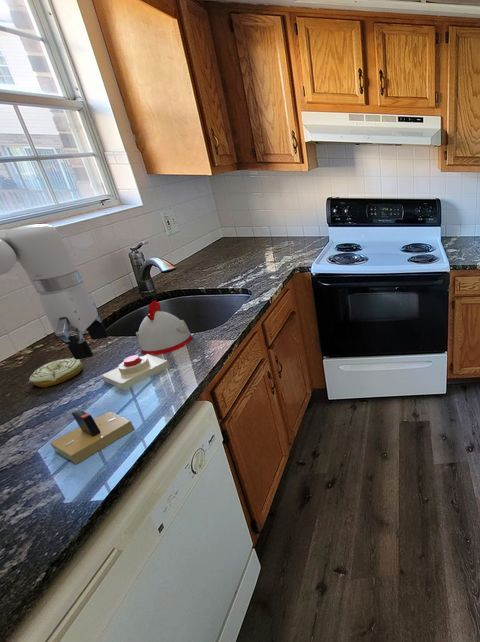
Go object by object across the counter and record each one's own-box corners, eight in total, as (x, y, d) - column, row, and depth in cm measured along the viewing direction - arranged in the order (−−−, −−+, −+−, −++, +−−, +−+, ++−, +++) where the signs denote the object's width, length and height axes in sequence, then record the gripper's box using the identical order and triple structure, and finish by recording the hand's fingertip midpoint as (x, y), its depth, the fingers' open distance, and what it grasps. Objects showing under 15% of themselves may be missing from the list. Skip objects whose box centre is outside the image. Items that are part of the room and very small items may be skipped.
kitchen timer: (197, 331, 129) (183, 292, 123) (184, 350, 117) (168, 308, 111) (151, 337, 125) (134, 298, 119) (133, 358, 114) (113, 316, 107)
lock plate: (76, 464, 77) (70, 455, 75) (54, 451, 80) (48, 442, 79) (135, 429, 86) (130, 420, 84) (113, 418, 89) (108, 410, 88)
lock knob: (81, 430, 82) (70, 412, 80) (89, 426, 83) (78, 408, 81) (93, 436, 80) (82, 418, 78) (101, 432, 81) (90, 414, 79)
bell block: (124, 390, 99) (118, 378, 98) (104, 381, 103) (98, 370, 101) (170, 366, 109) (165, 355, 107) (150, 359, 113) (145, 348, 111)
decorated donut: (22, 389, 101) (15, 378, 99) (59, 367, 110) (53, 356, 109) (60, 388, 101) (53, 377, 99) (93, 366, 110) (88, 355, 109)
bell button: (129, 368, 102) (127, 363, 102) (122, 365, 104) (120, 360, 103) (143, 361, 105) (141, 356, 105) (136, 359, 107) (134, 354, 106)
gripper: (54, 272, 86) (88, 335, 94) (12, 299, 72) (55, 370, 79) (94, 267, 89) (124, 328, 96) (61, 292, 75) (99, 361, 82)
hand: (93, 347), depth 88 cm, fingers open, 9 cm apart
